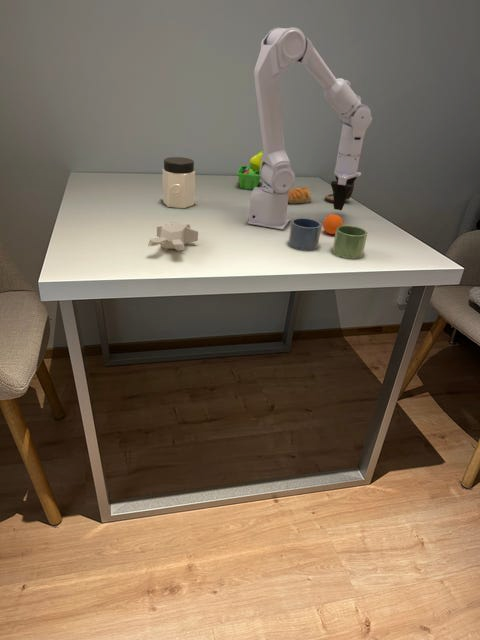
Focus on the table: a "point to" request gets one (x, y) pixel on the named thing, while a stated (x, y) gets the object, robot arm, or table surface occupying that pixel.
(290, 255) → the table surface
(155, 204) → the table surface
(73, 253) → the table surface
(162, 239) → the white toy turtle
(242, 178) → the fruit basket
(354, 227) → the sage cup
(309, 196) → the pastry
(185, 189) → the jar
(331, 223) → the ball
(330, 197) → the compass
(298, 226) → the slate cup
